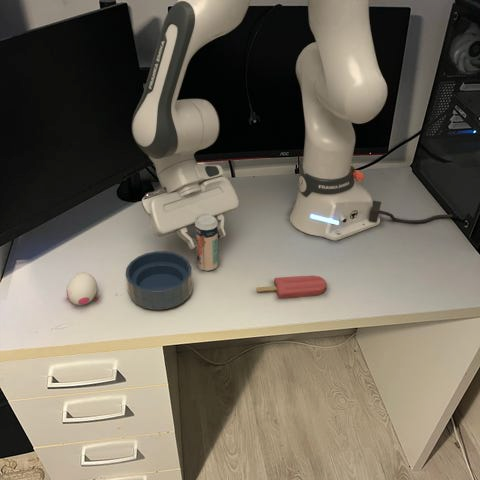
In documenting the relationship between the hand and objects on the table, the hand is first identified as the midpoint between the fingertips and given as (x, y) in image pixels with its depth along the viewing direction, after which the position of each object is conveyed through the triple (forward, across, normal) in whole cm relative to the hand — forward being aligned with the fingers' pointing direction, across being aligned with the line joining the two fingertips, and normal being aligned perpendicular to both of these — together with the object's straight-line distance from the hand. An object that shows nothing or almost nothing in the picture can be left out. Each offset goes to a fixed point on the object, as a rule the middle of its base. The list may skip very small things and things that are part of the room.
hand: (208, 242), depth 110 cm
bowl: (+6, -13, +4) cm, 15 cm away
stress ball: (+1, -28, +9) cm, 29 cm away
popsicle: (+16, +10, -7) cm, 20 cm away
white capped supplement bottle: (+4, 0, +5) cm, 7 cm away
